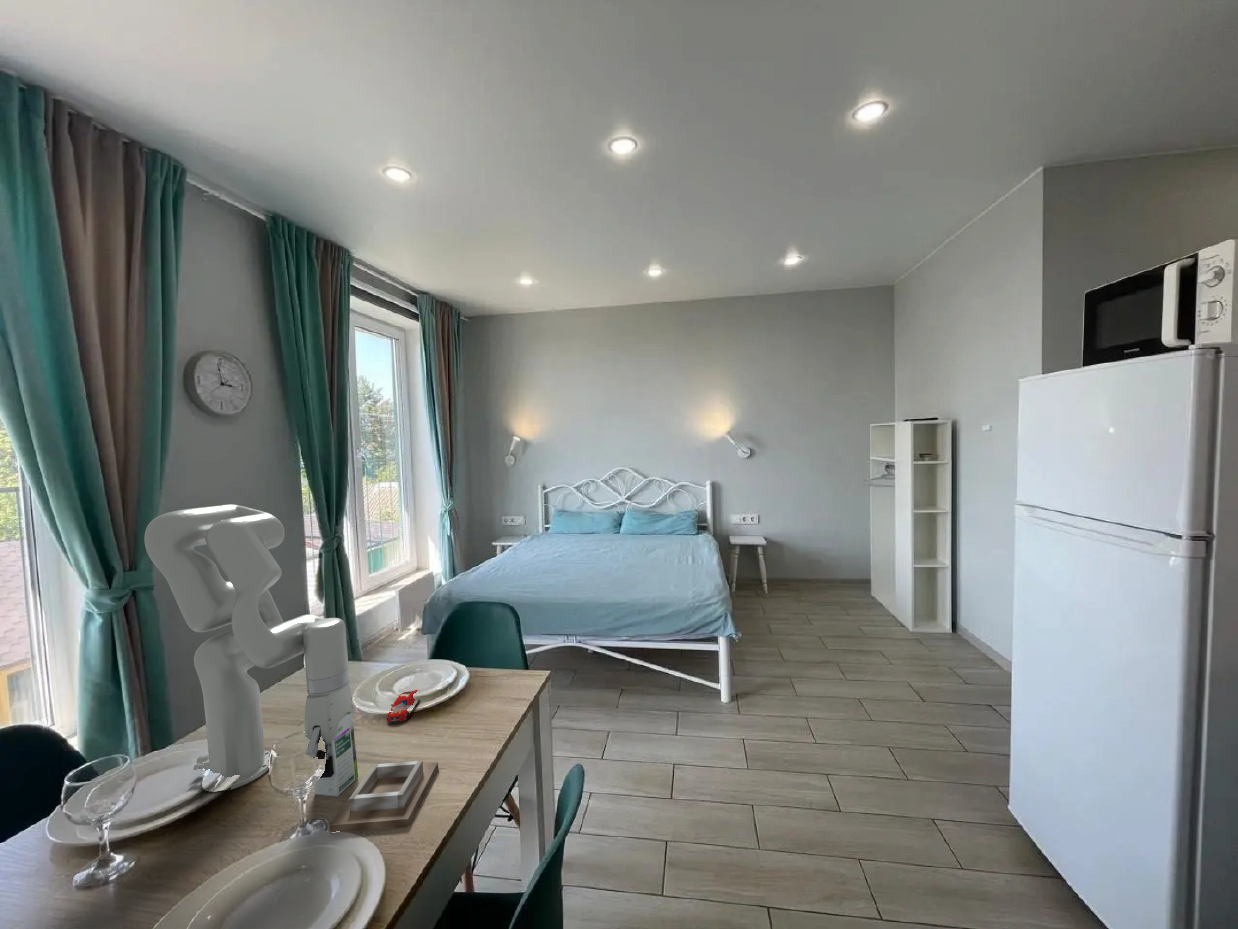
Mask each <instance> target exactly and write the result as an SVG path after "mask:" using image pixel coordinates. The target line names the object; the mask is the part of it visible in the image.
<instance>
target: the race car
mask: <svg viewBox="0 0 1238 929" xmlns="http://www.w3.org/2000/svg"><path fill="white" fill-rule="evenodd" d="M417 691H419V689H407V690H405V691H403V692H401V693H400V694H399V695H398V696H397V697H396V699H395V700H394V702H393V703H391V704H390V706H391V708H390V709H391V711H393V712H389V711H388V712H389V713H388V712H387V713H386V723H389V724H396V723H401V722H405V721H407V720H408V719H409V718H410V716H411V714H410V713H409V712H408V711H407V709H408V708H409V707H410V706H411V705H413V703H414V701H415V699H414V698H413V694H414V693H416V692H417Z"/></svg>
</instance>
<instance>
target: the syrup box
mask: <svg viewBox="0 0 1238 929" xmlns="http://www.w3.org/2000/svg"><path fill="white" fill-rule="evenodd" d="M353 717H354V715H353V716H352V712H348V713H347V714H346V715H345V716H344V717H343V718H342V719H341V721H340V722H339V725H338V728H337V731H336V734H335V738H334V740H333V741H332V742H331V743H330V744H331V750H330V756H332V761H333V776H332V777H328V778H320V779H319V780H318V781H317V782H316V784H315V785H314V784H313V789H314V794H315V795H320V796H329V797H339V796H340V795H341V794H342V793H343V792H344V791H345V790H346V789H347V788H349V786H350V785H351V784H353V783H354V782H355V781H356V780H357V779H358V778H359V774H358V773H359V771H358V770H359V769H358V761H357V760H358V759H357V751H356V750H357V748H356V739H355V729H354V728H355V727H354V718H353ZM323 741H325V739H323ZM325 746H326V745H325Z"/></svg>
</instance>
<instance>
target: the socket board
mask: <svg viewBox="0 0 1238 929" xmlns="http://www.w3.org/2000/svg"><path fill="white" fill-rule="evenodd" d="M438 771H439V762H436V761H435V762H427V763H424V762H423V760H414V761H413V760H412V761H401V762H390V763H389V762H387V763H378V764H377V763H375V764H374V763H373V765H372V767H371V768H370V769H369V771H368V772H367V774H366V775H365V777H363V779H362V780H361V782H360V783H359V784H358V786H357V787H356V789H355V790H354V791H353V793H352V794H351V795H350V797H349V798H348V800H347V801H346V803H345V804H344V805H343V807H342V808H341V809H340V811H339V812H338V813H337V815H336V817H334V819H333V820H332V822H331V823H330V826H329V832H330V833H331V832H336V831H340V832H342V833H350V832H363V831H375V830H376V831H377V830H387V829H388V830H390V829H398V828H399V829H401V828H409V827H410V825H411V822H412V821H413V819H414V817H415V815H416V813H417V811H418V810H419V807H420V806H421V804H422V801H424V800H423V799H424V798H425V796H426V794H427V792H428V790H429V788H430V786H431V784H432V782H433V780H434V779H435V777H436V775H437V772H438Z"/></svg>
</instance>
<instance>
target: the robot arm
mask: <svg viewBox="0 0 1238 929" xmlns="http://www.w3.org/2000/svg"><path fill="white" fill-rule="evenodd" d="M285 534H286V533H285V528H284V525H283V523H282V522H281V521H280V520H279V519H278V518H277V517H276V516H275V515H273V514H271V513H269V512H265V511H262V510H258V509H255V508H250V507H247V506H244V505H238V504H222V505H221V504H220V505H214V506H213V505H211V506H203V507H195V508H194V507H193V508H185V509H179V510H173V511H170V512H166V513H163V514H161V515H158V516H156V517H154V518H153V519H152V520H151V521H150V522H149V523H148V524H147V527H146V528H145V532H144V538H143V539H144V540H143V541H144V546H145V550H146V553H147V555H148V557H149V559H150V560H151V561H152V563H153V564H154V566H155V567H156V568H157V570H158V571H159V572H160V574H162V576H163V577H164V578H165V580H166V582H167V583H168V586H169V588H170V590H171V593H172V595H173V597H174V600H175V601H176V603H177V606H178V608H179V610H180V613H181V615H182V618H183V619H184V620H185V622H186V623H185V624H187V626H188V627H189V628H190V630H192V631H193V632H195V633H207V632H210V631H211V632H212V631H214V630H217V629H220V628H223V627H226V626H229V625H231V628H232V629H229V630H226V631H224V632H220V633H218V634H216V635H214V636H212V637H210V638H208V639H207V640H205V641H204V642H203V643H201V644H200V645H199V646H198V648H197V649H196V650H195V653H194V656H193V666H194V669H195V671H196V674H197V677H198V680H199V684H200V686H201V690H202V695H203V696H202V697H203V699H202V700H203V708H204V716H205V727H206V739H207V752H208V754H202V755H199V756H198V757H197V759H196V763H195V764H194V765H193V769H192V770H193V771H194V770H197V769H203V768H204V769H205V771H206V770H208V769H210V771H212V772H213V773H220V774H221V775H222V776H224V777H226V778H227V777H232V776H234V775H240V779H238V780H237V782H236V783H234V784H233V786H232V787H231V789H230V790H235V789H237V788H239V787H243V786H245V785H248V784H249V783H251V782H253V781H255V780H256V779H258V778H260V777H261V776H262V775H264V774H266V772H267V771H269V770H268V760H269V754H270V752H271V751H269V750H265V749H266V748H265V738H264V726H263V715H262V714H263V713H262V703H261V702H262V700H261V690H260V686H259V683H258V682H257V681H256V680H255V679H254V678H253V677H252V676H251V675H249V674H248V670H250V669H251V668H253V667H255V666H256V667H258V668H261V669H271V668H274V667H275V668H276V667H277V666H279V665H281V664H284V663H286V662H287V661H290V660H292V659H294V658H296V657H298V656H300V655H303V654H304V666H305V667H304V668H305V679H306V680H305V681H306V691H307V696H306V700H305V708H304V738H305V737H307V738H308V739H309V740H310V742H309V744H308V746H307V748H306V751H305V754H306V755H307V756H308V757H310V756H311V757H313V758H315V757H318V759H325V753H326V764H325V771H324V773H323V774H322V776H321V777H320V778H328V777H332V776H333V761H332V756H330V750H331V744H330V743H331V742H332V741H333V740H334V738H335V734H336V731H337V728H338V725H339V722H340V721H341V719H342V718H343V717H344V716H345V715H346V714H347V713H348V712H352V716H353V717H354V713H355V710H356V709H355V707H354V706H353V705H354V703H353V696H352V690H351V685H350V672H349V671H350V670H349V658H348V644H347V642H348V641H347V631H346V623H345V621H344V620H343V619H341V618H339V617H329V618H328V617H327V618H325V617H323V616H318V615H315V614H310V613H308V614H302V615H299V616H297V617H294V618H292V619H289V620H287V621H284V619H283V617H282V616H281V613H280V611H279V609H278V606H277V605H276V603H275V602H276V601H275V600H274V598H273V596H272V594H271V592H270V590H269V589H270V588H271V587H273V586H274V585H275V584H276V583H277V582H278V581H279V580H280V579H281V577H282V574H283V573H282V572H283V571H282V568H281V567H280V566H279V564H278V563H277V560H276V559H275V558H274V557H273V555H272V553H271V551H270V549H271V550H272V549H275V548H277V547H278V546H280V545H281V544H282V543H283V542H284V539H285ZM200 546H207V548H208V549H209V551H210V552H211V555H212V556H213V557H214V559H215V560H216V562H217V564H218V565H219V566H220V569H222V571H223V573H224V574H225V576H226V578H227V579H228V581H226V580H225V579H224V578H223V577H222V575H221V573H220V571H219V568H218V566H217V564H216V563H215V561H213V560H212V559H211V558H209V557H208V556H207V555H206V554H204V553H202V552H200V551H197V550H196V549H195V547H200ZM305 734H307V735H305ZM321 736H322V738H323V739H325V741H324V742H325V745H326V746H325V749H326V752H324V751H322V750H318V743H319V740H320V737H321ZM311 757H310V758H311ZM203 762H204V763H203ZM205 771H204V772H205ZM230 790H229V791H230Z"/></svg>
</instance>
